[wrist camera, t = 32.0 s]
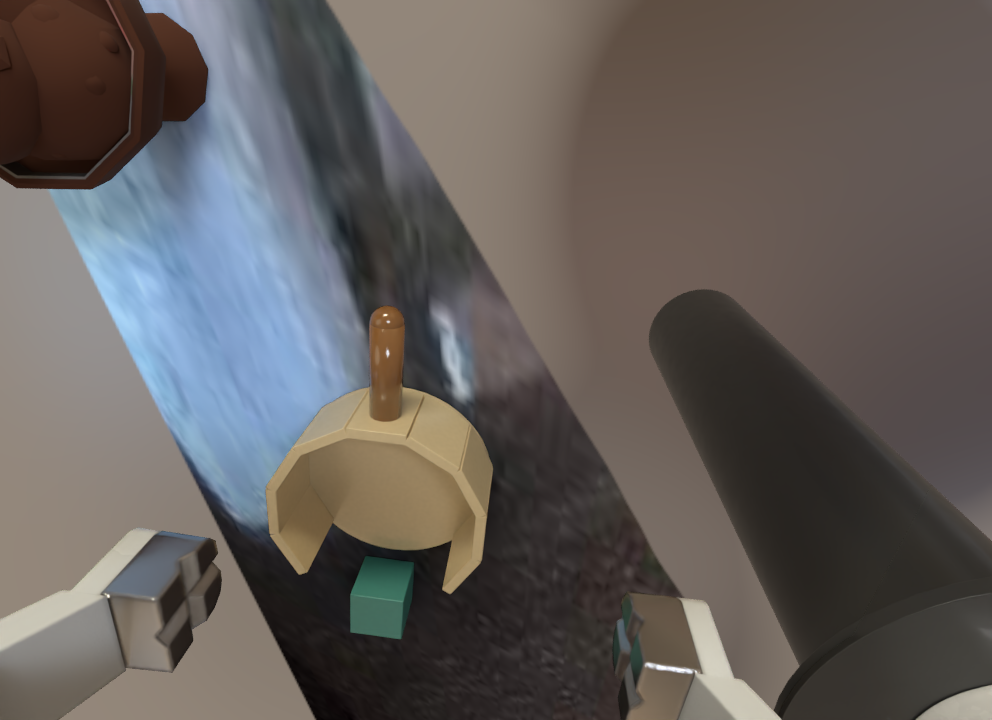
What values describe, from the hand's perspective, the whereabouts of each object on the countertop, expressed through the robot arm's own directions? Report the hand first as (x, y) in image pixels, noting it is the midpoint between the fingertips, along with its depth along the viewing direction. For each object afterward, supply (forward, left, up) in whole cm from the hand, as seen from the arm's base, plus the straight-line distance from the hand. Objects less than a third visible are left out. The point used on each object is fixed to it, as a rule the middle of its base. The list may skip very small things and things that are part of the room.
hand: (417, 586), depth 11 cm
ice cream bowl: (+20, -9, -25) cm, 33 cm away
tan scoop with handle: (+6, +12, -25) cm, 29 cm away
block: (+6, +25, -23) cm, 34 cm away
